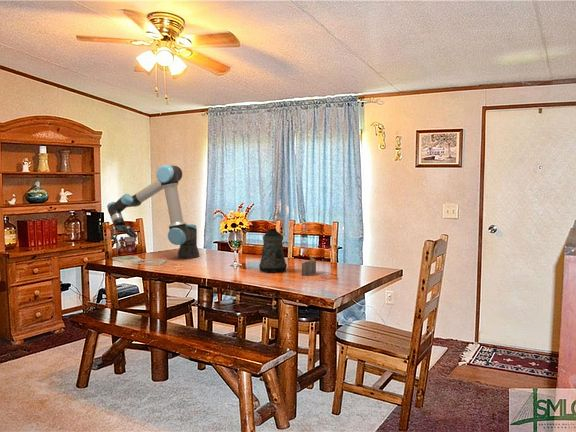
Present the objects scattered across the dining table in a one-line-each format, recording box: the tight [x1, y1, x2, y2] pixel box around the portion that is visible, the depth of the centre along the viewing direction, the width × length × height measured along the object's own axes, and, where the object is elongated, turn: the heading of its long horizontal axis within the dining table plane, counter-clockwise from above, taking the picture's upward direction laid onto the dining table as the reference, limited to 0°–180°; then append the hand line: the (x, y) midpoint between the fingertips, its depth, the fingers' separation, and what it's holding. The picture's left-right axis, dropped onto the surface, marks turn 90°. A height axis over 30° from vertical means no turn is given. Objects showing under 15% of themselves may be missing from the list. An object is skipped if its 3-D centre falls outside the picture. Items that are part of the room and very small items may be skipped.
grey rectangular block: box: [301, 256, 317, 277], centre depth 293 cm, size 11×3×10 cm, turn 145°
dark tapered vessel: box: [258, 228, 288, 274], centre depth 304 cm, size 16×19×25 cm
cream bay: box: [111, 255, 143, 264], centre depth 341 cm, size 18×13×2 cm
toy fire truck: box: [115, 236, 136, 253], centre depth 340 cm, size 7×12×10 cm, turn 103°
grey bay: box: [131, 259, 167, 266], centre depth 327 cm, size 18×13×2 cm
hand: (127, 246), depth 338 cm, fingers closed on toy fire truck, 10 cm apart
